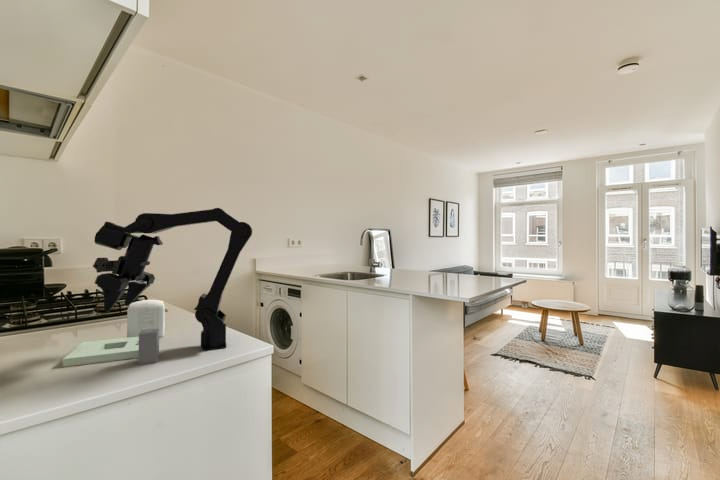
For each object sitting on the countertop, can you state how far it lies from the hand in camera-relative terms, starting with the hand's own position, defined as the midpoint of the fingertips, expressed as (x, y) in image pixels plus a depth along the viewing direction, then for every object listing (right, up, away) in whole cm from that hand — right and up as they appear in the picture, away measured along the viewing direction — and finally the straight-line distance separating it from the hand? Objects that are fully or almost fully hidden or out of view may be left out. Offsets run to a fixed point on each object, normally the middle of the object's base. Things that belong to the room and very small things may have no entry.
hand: (116, 308), depth 91 cm
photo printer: (-1, -13, +14) cm, 19 cm away
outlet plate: (-2, -13, +1) cm, 13 cm away
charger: (+12, -13, -5) cm, 18 cm away
